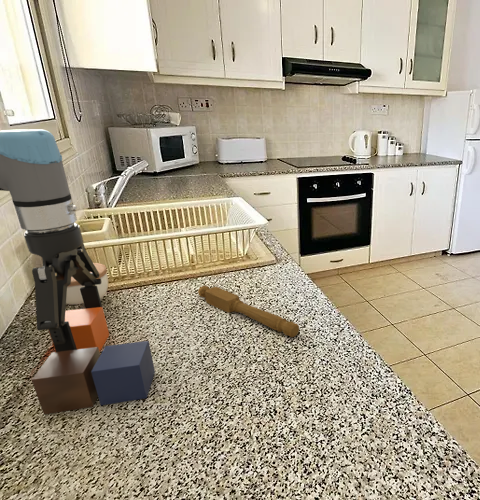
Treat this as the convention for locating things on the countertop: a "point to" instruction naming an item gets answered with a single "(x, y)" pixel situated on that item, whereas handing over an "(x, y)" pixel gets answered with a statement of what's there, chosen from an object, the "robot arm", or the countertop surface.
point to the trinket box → (74, 287)
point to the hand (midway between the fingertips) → (83, 334)
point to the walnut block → (67, 380)
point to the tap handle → (246, 310)
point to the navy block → (123, 372)
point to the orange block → (87, 327)
